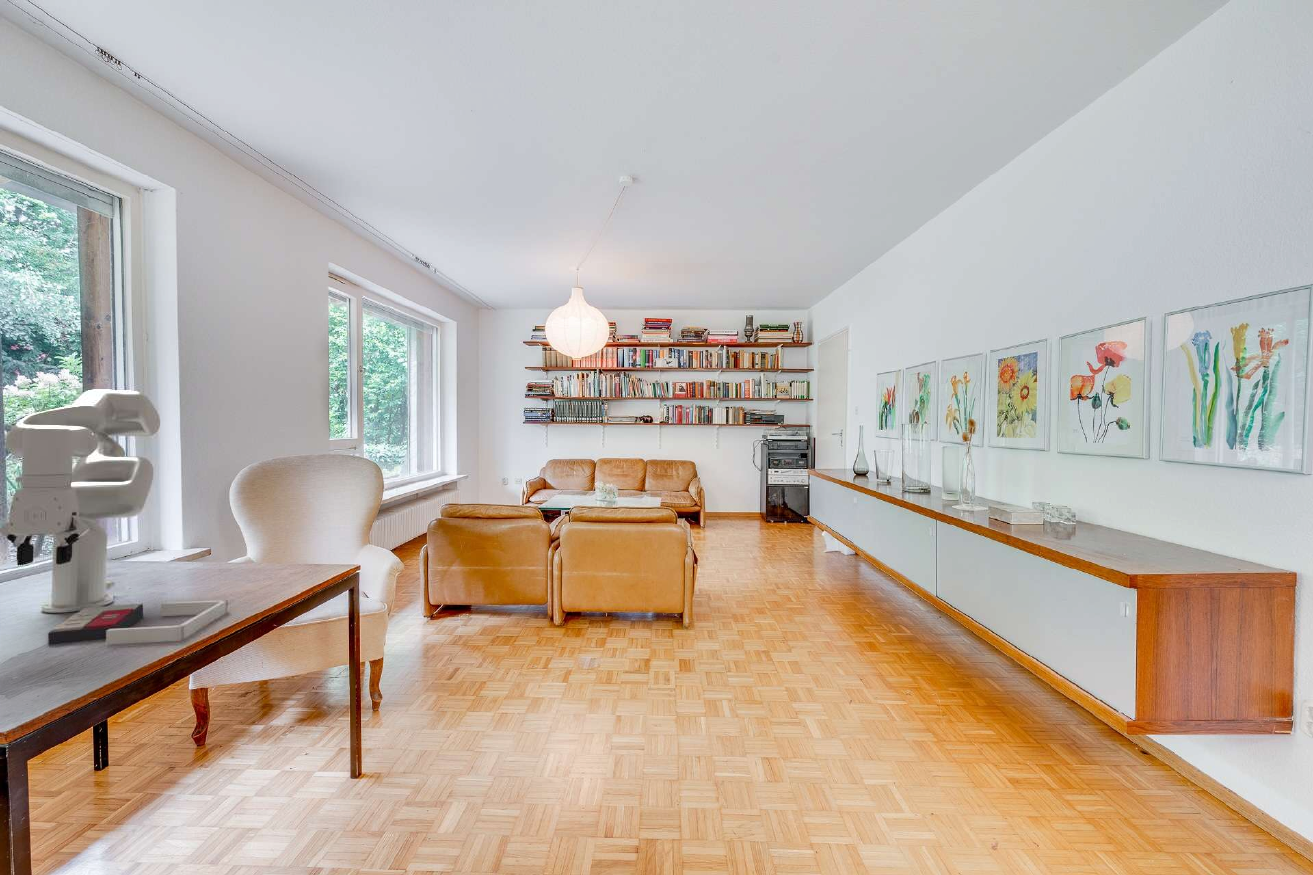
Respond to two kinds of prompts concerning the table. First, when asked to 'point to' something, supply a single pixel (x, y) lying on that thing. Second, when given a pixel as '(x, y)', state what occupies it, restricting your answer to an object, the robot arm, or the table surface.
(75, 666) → the table surface
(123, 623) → the calculator
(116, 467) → the robot arm
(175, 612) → the white u-shaped fence
